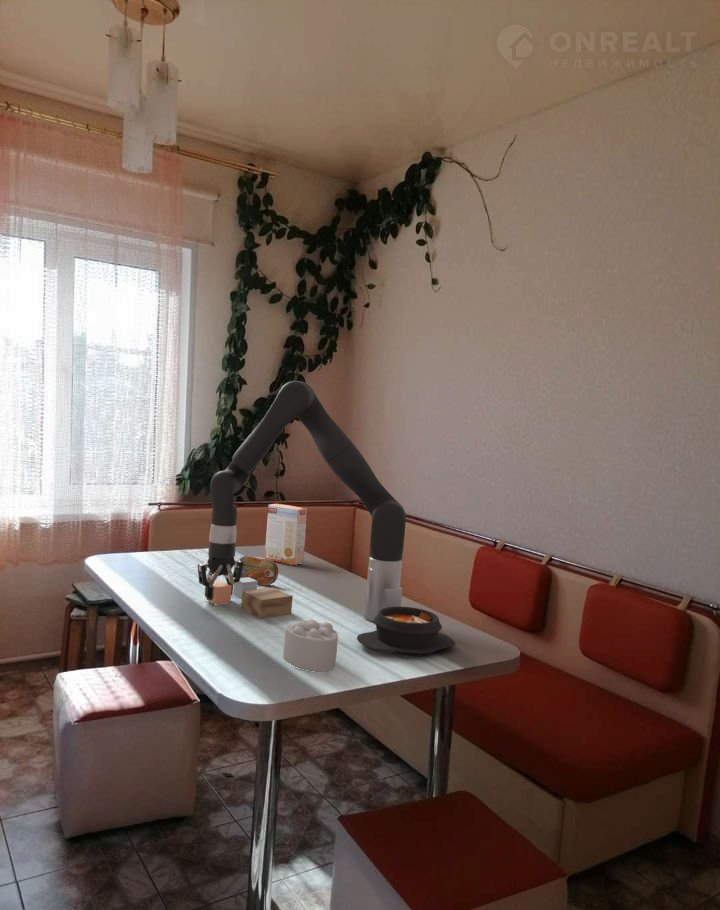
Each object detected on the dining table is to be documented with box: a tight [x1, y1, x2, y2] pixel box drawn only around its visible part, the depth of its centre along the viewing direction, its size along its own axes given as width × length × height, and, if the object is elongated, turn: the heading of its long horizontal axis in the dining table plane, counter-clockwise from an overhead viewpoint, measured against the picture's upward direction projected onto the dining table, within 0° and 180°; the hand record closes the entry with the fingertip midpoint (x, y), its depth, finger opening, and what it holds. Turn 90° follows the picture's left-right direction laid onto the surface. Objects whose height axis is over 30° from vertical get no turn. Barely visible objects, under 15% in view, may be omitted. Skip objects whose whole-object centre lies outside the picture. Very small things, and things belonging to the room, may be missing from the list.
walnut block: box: [240, 587, 294, 619], centre depth 198 cm, size 10×10×5 cm
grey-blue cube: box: [232, 577, 258, 600], centre depth 212 cm, size 5×5×5 cm
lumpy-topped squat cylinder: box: [282, 619, 339, 673], centre depth 161 cm, size 10×13×9 cm
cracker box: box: [264, 503, 308, 566], centre depth 262 cm, size 14×6×21 cm, turn 58°
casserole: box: [356, 606, 456, 656], centre depth 176 cm, size 25×19×8 cm
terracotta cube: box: [206, 581, 232, 605], centre depth 204 cm, size 5×5×5 cm
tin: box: [238, 555, 279, 587], centre depth 228 cm, size 15×3×8 cm, turn 62°
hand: (218, 598), depth 204 cm, fingers open, 5 cm apart
